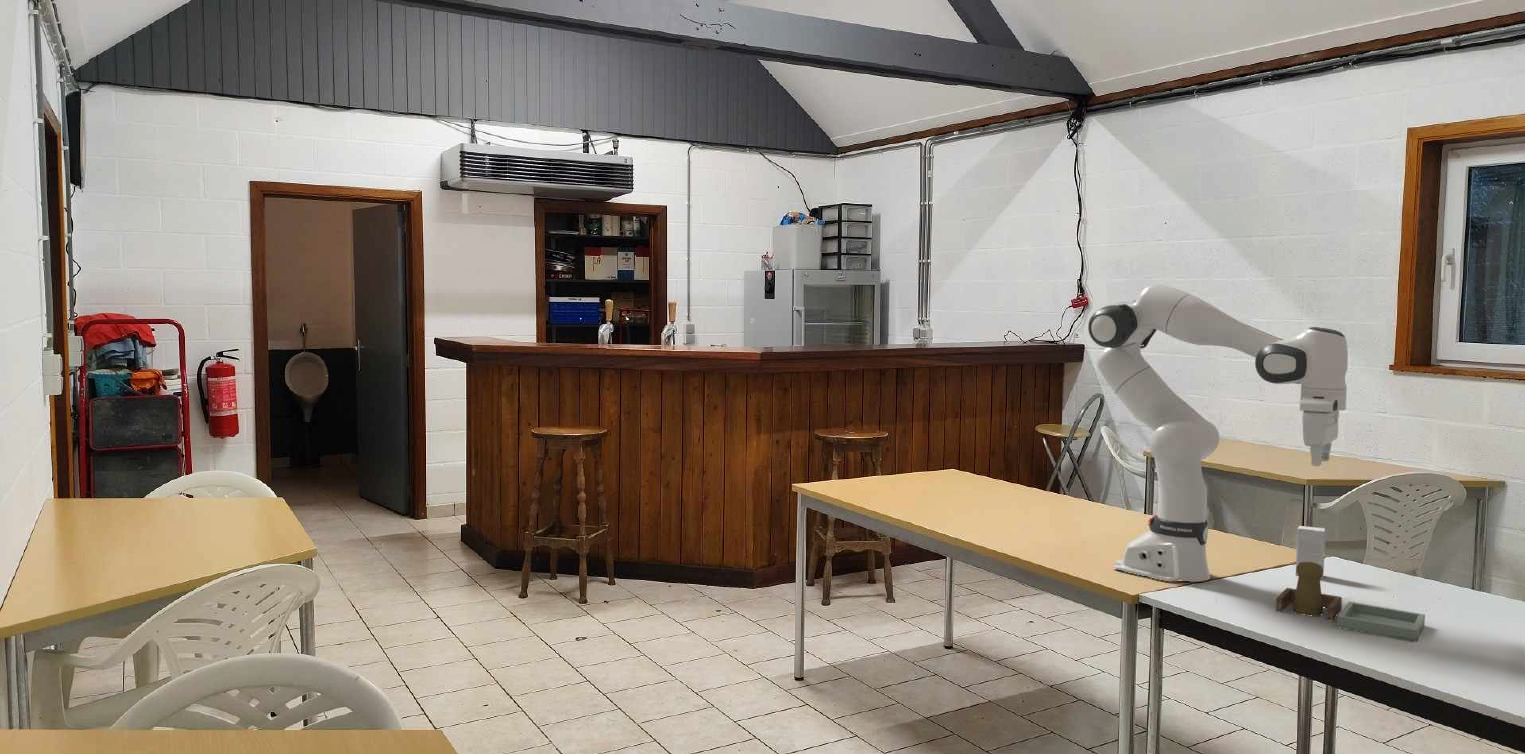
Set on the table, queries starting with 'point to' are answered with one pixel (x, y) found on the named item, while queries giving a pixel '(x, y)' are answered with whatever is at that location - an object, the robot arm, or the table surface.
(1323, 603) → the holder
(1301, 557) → the skincare box
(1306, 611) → the brown knobbed cone
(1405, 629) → the tray
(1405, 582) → the table surface
